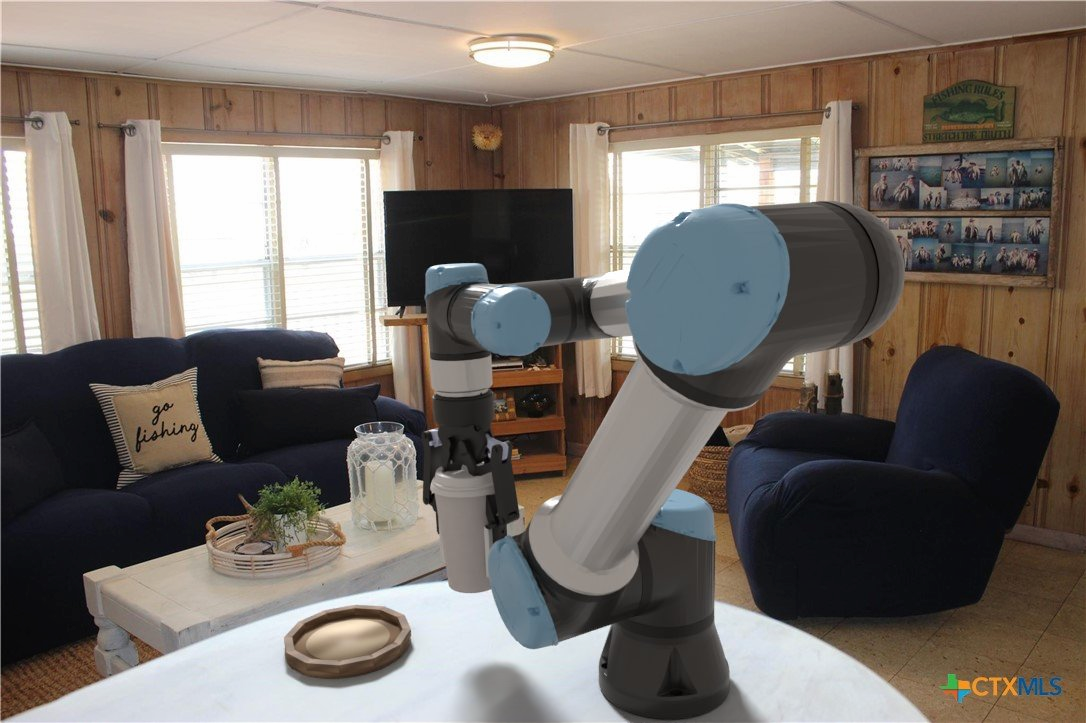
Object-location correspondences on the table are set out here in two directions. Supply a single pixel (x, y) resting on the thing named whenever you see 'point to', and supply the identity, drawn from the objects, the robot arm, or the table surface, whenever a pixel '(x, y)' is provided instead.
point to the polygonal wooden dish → (347, 641)
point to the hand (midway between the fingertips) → (472, 566)
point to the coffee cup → (463, 526)
